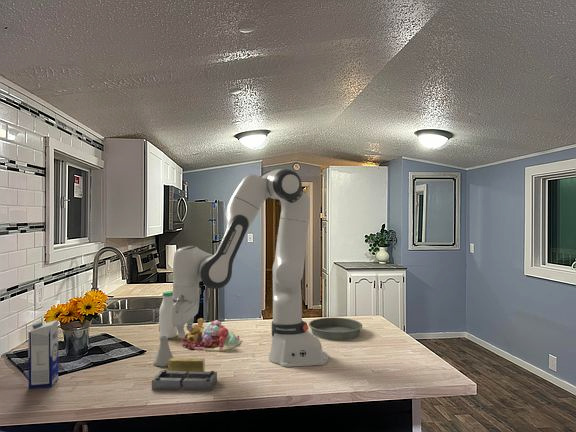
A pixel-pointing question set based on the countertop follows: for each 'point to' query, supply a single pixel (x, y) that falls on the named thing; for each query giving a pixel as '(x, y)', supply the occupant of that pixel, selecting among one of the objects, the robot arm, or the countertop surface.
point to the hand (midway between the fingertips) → (185, 333)
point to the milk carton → (43, 354)
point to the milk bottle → (167, 316)
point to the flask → (163, 352)
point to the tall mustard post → (186, 364)
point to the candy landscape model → (210, 337)
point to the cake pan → (335, 328)
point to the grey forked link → (200, 381)
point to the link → (169, 380)
